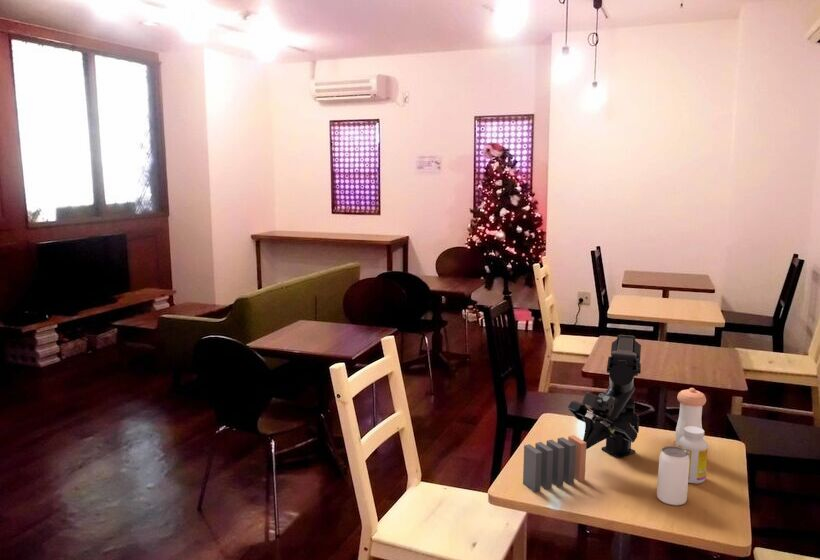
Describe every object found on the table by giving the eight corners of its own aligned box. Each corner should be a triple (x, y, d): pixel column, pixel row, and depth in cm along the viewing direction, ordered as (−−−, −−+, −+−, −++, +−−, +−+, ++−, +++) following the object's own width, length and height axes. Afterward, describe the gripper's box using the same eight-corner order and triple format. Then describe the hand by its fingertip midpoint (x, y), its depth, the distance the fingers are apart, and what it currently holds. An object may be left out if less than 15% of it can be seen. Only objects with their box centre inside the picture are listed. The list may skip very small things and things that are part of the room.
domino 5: (571, 472, 165) (573, 435, 163) (584, 480, 161) (586, 442, 159) (566, 473, 165) (568, 436, 163) (579, 481, 160) (581, 443, 158)
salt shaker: (667, 455, 174) (672, 387, 171) (681, 448, 179) (686, 382, 175) (693, 465, 169) (698, 395, 165) (707, 457, 173) (712, 389, 170)
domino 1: (528, 482, 160) (529, 444, 158) (540, 491, 155) (541, 452, 154) (522, 483, 159) (524, 445, 158) (534, 492, 155) (536, 453, 153)
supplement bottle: (703, 474, 164) (707, 426, 162) (706, 486, 158) (710, 436, 155) (675, 470, 166) (679, 422, 164) (676, 482, 160) (680, 433, 158)
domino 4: (561, 474, 164) (562, 437, 162) (573, 483, 159) (575, 445, 158) (556, 475, 163) (557, 438, 162) (568, 484, 159) (570, 446, 157)
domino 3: (550, 477, 163) (552, 439, 161) (562, 485, 158) (564, 447, 156) (545, 478, 162) (546, 440, 160) (557, 487, 157) (559, 448, 156)
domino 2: (539, 479, 161) (540, 441, 160) (551, 488, 157) (553, 449, 155) (534, 480, 161) (535, 443, 159) (546, 490, 156) (547, 451, 154)
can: (689, 507, 148) (693, 458, 146) (659, 504, 149) (662, 456, 147) (683, 493, 154) (686, 446, 152) (654, 491, 155) (657, 444, 153)
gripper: (573, 370, 170) (541, 419, 166) (632, 391, 155) (598, 445, 151) (592, 393, 176) (562, 441, 172) (651, 415, 160) (619, 468, 156)
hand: (583, 448), depth 162 cm, fingers closed
